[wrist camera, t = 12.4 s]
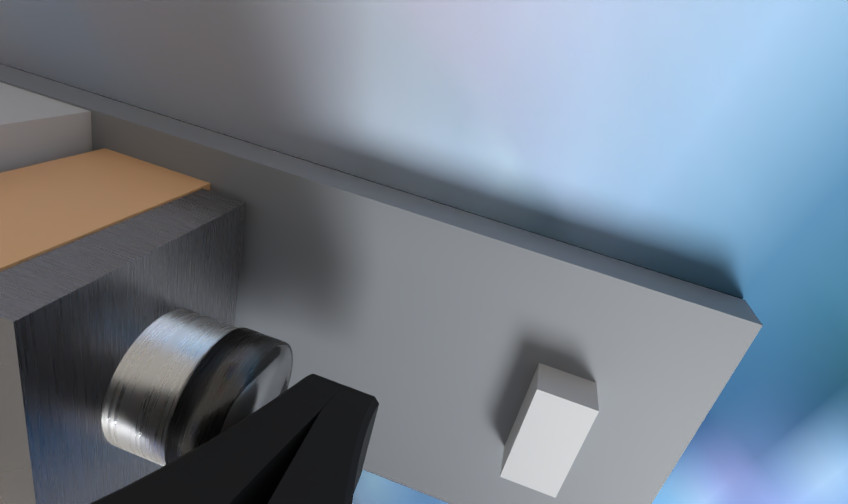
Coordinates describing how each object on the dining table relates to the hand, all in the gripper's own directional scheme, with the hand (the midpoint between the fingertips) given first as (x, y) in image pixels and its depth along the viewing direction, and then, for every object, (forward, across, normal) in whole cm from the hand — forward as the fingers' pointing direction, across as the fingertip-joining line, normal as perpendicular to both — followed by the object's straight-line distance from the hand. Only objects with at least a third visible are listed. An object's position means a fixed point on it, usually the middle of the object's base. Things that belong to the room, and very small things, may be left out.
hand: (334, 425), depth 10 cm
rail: (+3, +3, 0) cm, 4 cm away
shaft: (+2, +8, 0) cm, 8 cm away
